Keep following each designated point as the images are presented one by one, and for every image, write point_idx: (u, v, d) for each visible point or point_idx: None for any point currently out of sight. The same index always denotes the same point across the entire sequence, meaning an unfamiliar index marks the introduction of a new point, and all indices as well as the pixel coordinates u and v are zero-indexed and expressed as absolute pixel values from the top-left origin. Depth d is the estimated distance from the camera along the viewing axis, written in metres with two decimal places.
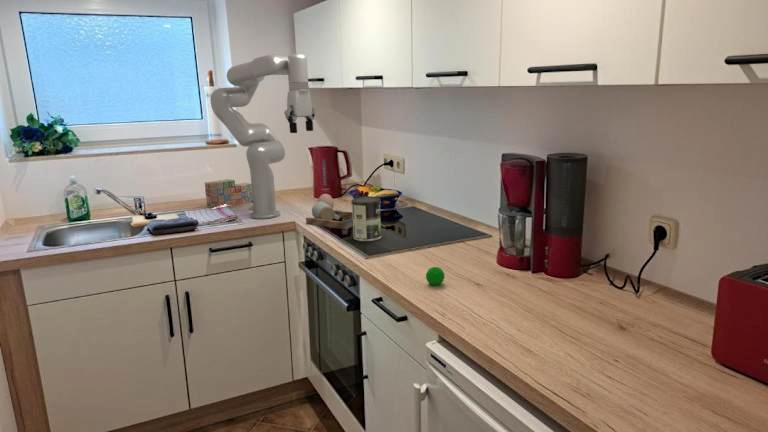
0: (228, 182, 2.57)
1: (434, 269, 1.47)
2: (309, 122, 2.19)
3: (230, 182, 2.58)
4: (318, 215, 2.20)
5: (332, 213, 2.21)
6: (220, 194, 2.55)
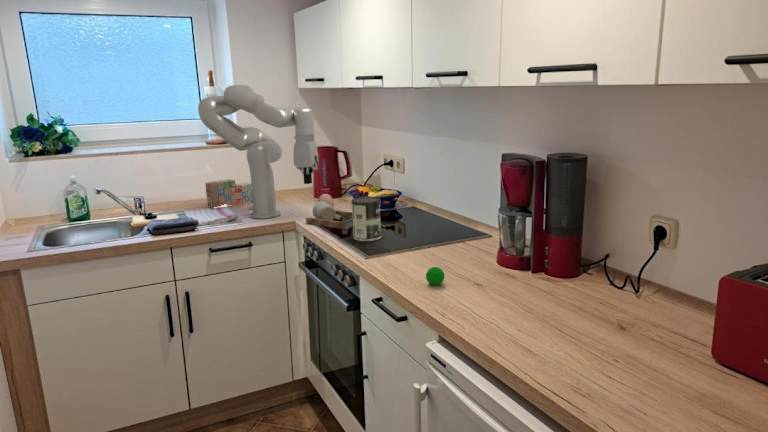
0: (228, 182, 2.57)
1: (434, 269, 1.47)
2: None
3: (230, 182, 2.58)
4: (319, 215, 2.20)
5: (333, 213, 2.21)
6: (220, 194, 2.55)
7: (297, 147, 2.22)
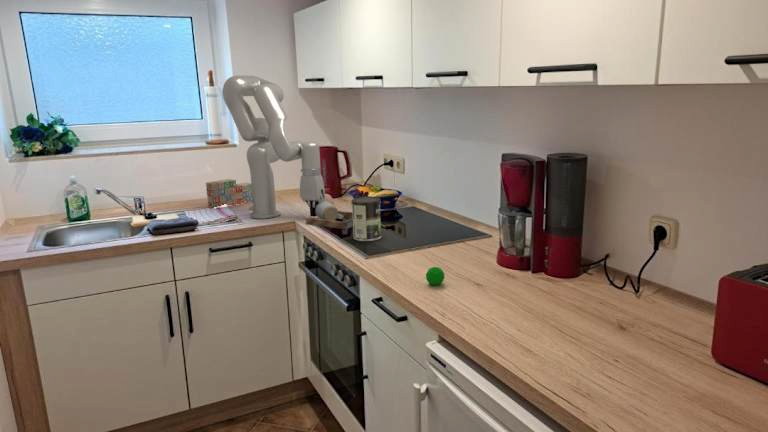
0: (229, 182, 2.57)
1: (434, 269, 1.47)
2: None
3: (231, 182, 2.58)
4: (322, 215, 2.20)
5: (336, 213, 2.21)
6: (221, 194, 2.55)
7: (304, 180, 2.24)
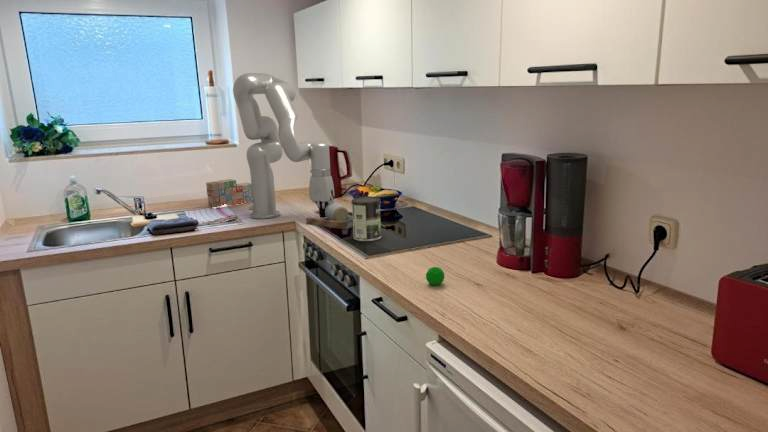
0: (229, 182, 2.58)
1: (434, 269, 1.47)
2: None
3: (231, 182, 2.58)
4: (332, 216, 2.17)
5: (346, 214, 2.19)
6: (221, 194, 2.55)
7: (313, 181, 2.21)
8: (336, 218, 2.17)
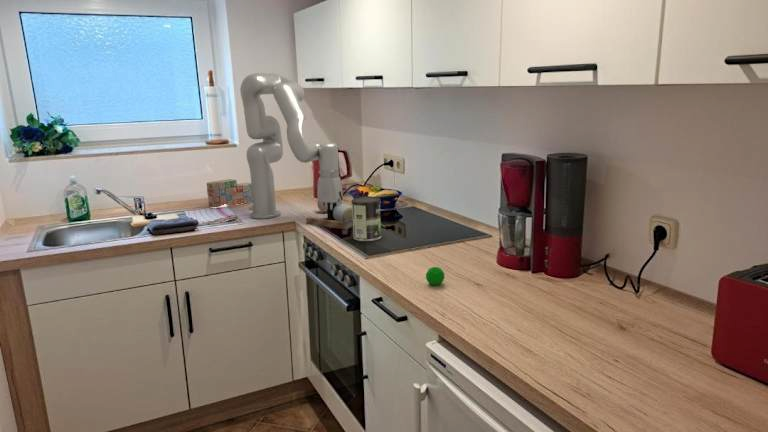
0: (230, 182, 2.58)
1: (434, 269, 1.47)
2: None
3: (232, 182, 2.58)
4: (341, 217, 2.15)
5: None
6: (221, 194, 2.55)
7: (322, 182, 2.19)
8: (345, 219, 2.15)
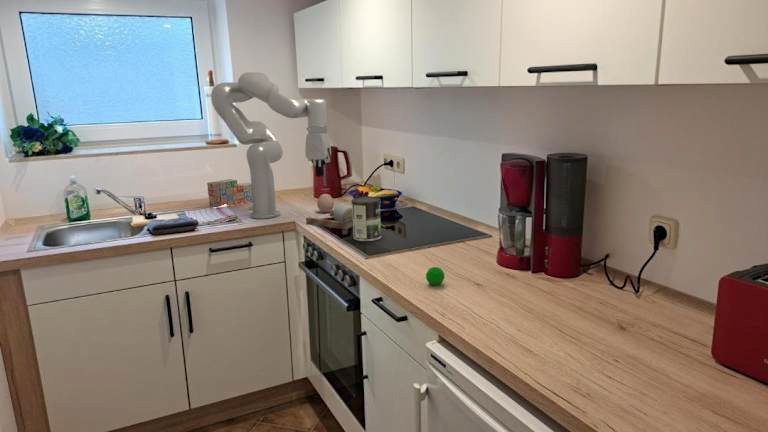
0: (231, 182, 2.58)
1: (434, 269, 1.47)
2: None
3: (232, 182, 2.58)
4: (342, 217, 2.15)
5: None
6: (222, 194, 2.56)
7: (310, 138, 2.17)
8: (346, 219, 2.15)
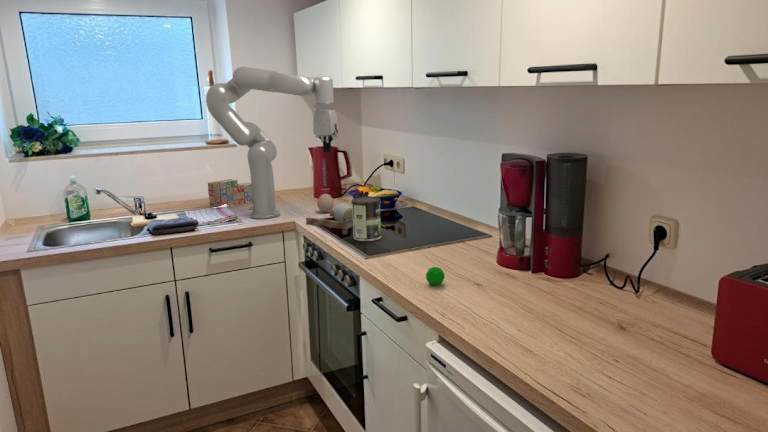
0: (231, 182, 2.58)
1: (434, 269, 1.47)
2: None
3: (233, 182, 2.58)
4: (342, 217, 2.15)
5: None
6: (222, 194, 2.56)
7: (317, 115, 2.24)
8: (346, 219, 2.15)
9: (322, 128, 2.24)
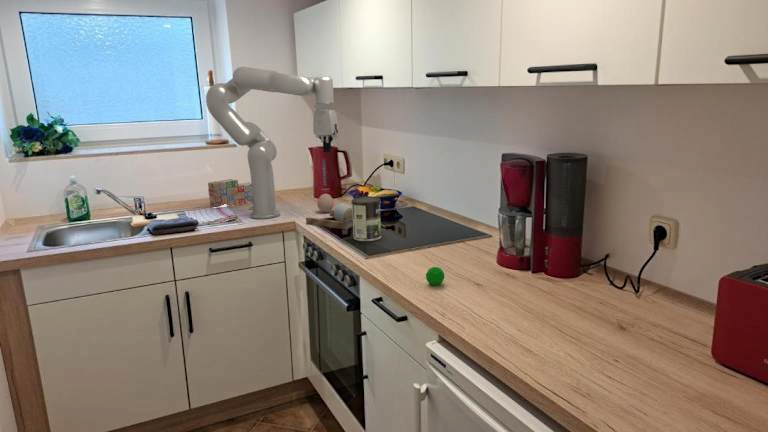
0: (231, 182, 2.58)
1: (434, 269, 1.47)
2: None
3: (233, 182, 2.58)
4: (342, 217, 2.15)
5: None
6: (223, 194, 2.56)
7: (317, 115, 2.24)
8: (346, 219, 2.15)
9: (322, 128, 2.24)
